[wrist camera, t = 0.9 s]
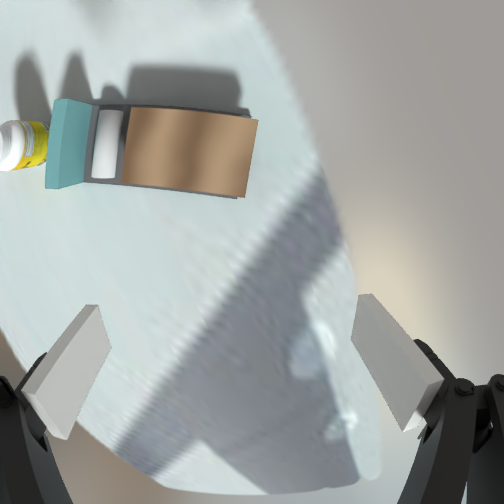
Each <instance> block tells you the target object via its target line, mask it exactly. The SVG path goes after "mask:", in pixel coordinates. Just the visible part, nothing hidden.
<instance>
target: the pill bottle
mask: <svg viewBox="0 0 504 504" xmlns="http://www.w3.org/2000/svg"><path fill="white" fill-rule="evenodd" d="M49 131H50V124H48V123H46V122H35V121H17V120H11V121H7V122H5V123H3V124H2V125H1V126H0V170H1V171H12V170H17V169H22V168H27V167H33V166H39V165H42V164H45V163H46V158H47V147H48V138H49Z"/></svg>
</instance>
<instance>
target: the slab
mask: <svg viewBox="0 0 504 504" xmlns="http://www.w3.org/2000/svg"><path fill="white" fill-rule="evenodd" d="M257 125H258V120H256V119H250V118H244V117H238V116H231V115H224V114H217V113H208V112H199V111H189V110H178V109H163V108H141V107H132V108H131V113H130V119H129V125H128V131H127V138H126V145H125V153H124V161H123V171H122V181H121V183H129V184H140V185H150V186H159V187H168V188H177V189H185V190H193V191H201V192H208V193H216V194H223V195H230V196H236V197H243V198H245V193H246V188H247V182H248V176H249V170H250V164H251V159H252V153H253V147H254V142H255V136H256V131H257Z"/></svg>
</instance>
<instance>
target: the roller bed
mask: <svg viewBox="0 0 504 504" xmlns="http://www.w3.org/2000/svg"><path fill="white" fill-rule="evenodd" d="M132 107H141V108H163V109H178V110H189V111H199V112H208V113H217V114H224V115H231V116H238V117H244V118H250V119H251V116H248V115H242V114H236V113H229V112H222V111H214V110H205V109H196V108H185V107H172V106H155V105H90V104H87V103H83V102H80V101H76V100H72V99H58V100H54V105H53V111H52V117H51V123H50V131H49V138H48V147H47V158H46V173H45V188H46V189H61V188H64V187H68V186H71V185H75V184H79V183H82V182H87V183H100V184H112V185H123V186H134V187H144V188H153V189H162V190H171V191H180V192H188V193H196V194H203V195H211V196H218V197H225V198H232V199H237V197H236V196H230V195H223V194H216V193H208V192H201V191H193V190H185V189H177V188H168V187H159V186H150V185H140V184H129V183H121V181H122V171H123V161H124V153H125V145H126V138H127V131H128V125H129V119H130V113H131V108H132Z"/></svg>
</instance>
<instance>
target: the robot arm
mask: <svg viewBox="0 0 504 504" xmlns="http://www.w3.org/2000/svg"><path fill="white" fill-rule="evenodd" d="M351 341H352V342H353V344H354V346H355V347H356V349H357V351H358V353H359V354H360V356H361V358H362V360H363V361H364V363H365V365H366V367H367V368H368V370H369V372H370V374H371V375H372V377H373V379H374V381H375V382H376V384H377V386H378V388H379V390H380V391H381V393H382V395H383V397H384V399H385V401H386V402H387V404H388V406H389V408H390V410H391V411H392V413H393V415H394V417H395V419H396V421H397V423H398V425H399V427H400V428H401V430H402V432H404V431H407V430H410V429H412V428H415V427H418V425H419V424H420V422H421V421H422V419H423V417H424V419H425V420H426V422H427V424H426V426H425V427H424V429H423V430H422V432H421V433H420V435H419V436H418V439H420V438H421V436H422V438H421V441H420V445H419V448H418V451H417V454H416V457H415V460H414V463H413V466H412V468H411V471H410V474H409V476H408V479H407V482H406V484H405V487H404V489H403V491H402V494H401V496H400V498H399V500H398V503H397V504H461V501H462V497H463V494H464V490H465V486H466V482H467V504H504V375H501V374H496V375H494V376H492V377H491V379H490V381H489V382H488V384H487V385H480V386H475V385H474V384H473V383H472V382H471V381H469V380H467V379H464V378H458V379H456V378H455V377H454V375H453V374H452V373H451V372H450V371H449V369H448V368H447V367H446V366H445V365H444V363H443V362H442V361H441V360H440V359H438V357H437V355H436V354H435V353H433V351H432V349H431V348H430V347H429V346H428V345H427V344H426V343H424V342H422V341H421V340H419V339H416V340H412V339H411V338H410V336H409V335H408V334H407V333H406V332H405V331H404V330H403V328H402V327H401V326H400V325H399V324H398V322H396V320H395V319H394V318H393V317H392V316H391V315H390V314H389V312H388V311H387V310H386V309H385V308H384V307H383V306H382V304H381V303H380V302H379V301H378V300H377V299H376V298H375V297H374V295H373V294H363V295H359V296H358V302H357V308H356V314H355V320H354V325H353V330H352V336H351ZM111 348H112V347H111V345H110V342H109V339H108V336H107V333H106V329H105V326H104V323H103V320H102V316H101V313H100V310H99V306H98V305H85V307H84V308H83V309H82V310H81V311H80V313H79V314H78V315H77V316H76V317H75V319H74V320H73V321H72V322H71V324H70V325H69V326H68V327H67V329H66V330H65V331H64V332H63V334H62V335H61V336H60V337H59V339H58V340H57V341H56V343H55V344H54V345H53V346H52V348H51V349H50V350H49V352H48V353H47V352H46V353H44V354H43V355H42V356H40V357H39V358H38V359H37V360H36V361H35V363H34V364H33V367H31V368H30V370H29V372H27V374H26V375H25V377H24V378H23V380H22V381H21V382H20V384H19V385H18V386H17V388H16V389H15V391H14V390H13V388H12V386H11V385H10V383H9V382H8V380H7V379H6V378H5V377H4V376H0V504H73V502H72V500H71V498H70V496H69V494H68V492H67V489H66V487H65V485H64V482H63V480H62V478H61V475H60V473H59V470H58V467H57V465H56V462H55V459H54V456H53V453H52V450H51V447H50V444H49V441H48V438H47V436H46V434H45V433H44V432H45V430H46V428H47V429H48V430H49V431H50V433H51V434H52V435H53V436H55V437H58V438H61V439H64V440H67V439H68V437H69V434H70V432H71V430H72V427H73V425H74V423H75V421H76V419H77V416H78V414H79V412H80V410H81V408H82V406H83V403H84V401H85V399H86V397H87V395H88V393H89V391H90V389H91V387H92V385H93V383H94V381H95V379H96V377H97V375H98V373H99V371H100V369H101V367H102V365H103V363H104V361H105V359H106V358H107V356H108V354H109V352H110V350H111ZM491 422H492V425H493V428H492V426H491Z"/></svg>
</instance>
